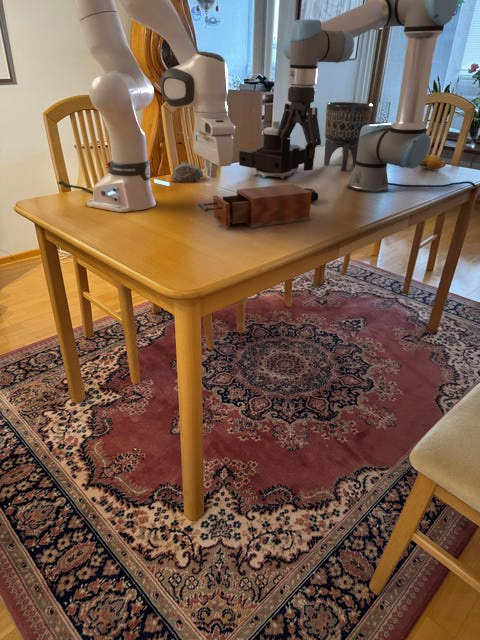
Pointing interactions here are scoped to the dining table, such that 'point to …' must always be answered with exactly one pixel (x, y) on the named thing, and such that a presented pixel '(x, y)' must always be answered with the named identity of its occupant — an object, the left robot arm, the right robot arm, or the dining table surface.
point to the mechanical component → (272, 156)
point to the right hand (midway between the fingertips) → (295, 165)
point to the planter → (345, 128)
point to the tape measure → (313, 194)
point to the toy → (433, 162)
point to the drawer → (229, 209)
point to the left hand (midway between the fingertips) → (211, 176)
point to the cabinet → (277, 204)
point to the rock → (186, 173)
